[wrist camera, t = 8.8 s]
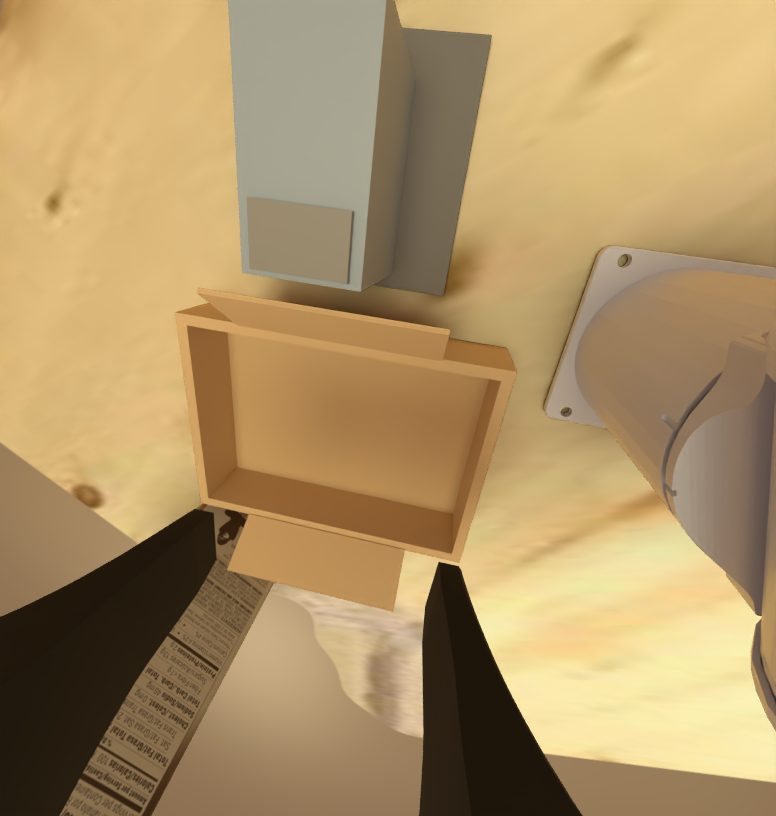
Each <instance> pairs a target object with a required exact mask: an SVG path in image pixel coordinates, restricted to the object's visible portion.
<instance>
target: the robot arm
mask: <svg viewBox="0 0 776 816" xmlns="http://www.w3.org/2000/svg"><path fill="white" fill-rule="evenodd" d="M623 254H626V255H627V256H628V262H627V263H626V264H625V265H624V266H622V267H619V265H618V259H619V258H620V256H622V255H623ZM565 407H569V408H570V410H569V411H568V412H567V413H561V410H562V409H563V408H565ZM544 411H545V413H546V415H547V416H548V417H550V418H552V419H558V420H563V421H568V422H574V423H579V424H585V425H590V426H595V427H601V428H606V429H608V430H609V431H610V433H611V434H612V435H613V436H614V438H615V439H616V440H617V442H618V443H619V444H620V446H621V447H622V448H623V450H624V451H625V452H626V453H627V455H628V456H629V457H630V459H631V460H632V461H633V463H634V464H635V465H636V467H637V468H638V469H639V471H640V472H641V473H642V474H643V476H644V477H645V478H646V480H647V481H648V482H649V484H650V485H651V486H652V488H653V489H654V490H655V492H656V493H657V494H658V495H659V497H660V498H661V499H662V501H663V502H664V503H665V505H666V506H667V507H668V509H669V510H670V511H671V512H672V514H673V515H674V516H675V518H676V519H677V521H678V522H679V523H680V525H681V526H682V528H683V529H684V530H685V532H686V533H687V534H688V536H689V537H690V538H691V539H692V541H693V542H694V543H695V544H696V545H697V546H698V547H699V548H700V549H701V550H702V551H703V552H704V553H705V554H706V555H707V556H709V557H710V558H711V559H712V560H713V561H714V562H715V563H716V564H718V565H719V566H720V567H721V568H722V569H723V570H724V571H725V572H726V576H727V578H728V579H729V580H730V582H731V583H732V584H733V585H734V587H735V588H736V589H737V590H738V592H739V593H740V594H741V596H742V597H743V598H744V599H745V601H746V602H747V603H748V605H749V606H750V607H751V608H752V610H753V611H754V612H755V614H757V615H759V616H762V619H761V620H760V621H759V622H758V623H757V624H756V627H755V632H754V637H753V642H752V647H751V671H752V676H753V680H754V684H755V688H756V692H757V694H758V696H759V699H760V701H761V703H762V706H763V708H764V710H765V713H766V715H767V717H768V719H769V721H770V722H771V724H772V726H773V727H774V729H775V731H776V267H769V266H762V265H754V264H747V263H740V262H732V261H725V260H718V259H710V258H703V257H696V256H688V255H681V254H673V253H666V252H659V251H651V250H644V249H637V248H629V247H622V246H607V247H605V248H603V249H602V250H601V251H600V252H599V254H598V255H597V257H596V260H595V263H594V266H593V269H592V271H591V274H590V277H589V280H588V283H587V286H586V288H585V291H584V294H583V297H582V300H581V303H580V305H579V308H578V311H577V314H576V317H575V320H574V322H573V325H572V328H571V331H570V334H569V336H568V339H567V342H566V345H565V348H564V351H563V353H562V356H561V359H560V362H559V365H558V368H557V370H556V373H555V376H554V379H553V382H552V385H551V387H550V390H549V393H548V396H547V399H546V402H545V404H544ZM216 560H217V556H216V541H215V525H214V513H213V512H208V511H204V510H199V509H194V510H193V511H191V512H189V513H188V514H186V515H184V516H183V517H181V518H180V519H178V520H176V521H175V522H173V523H172V524H170V525H168V526H167V527H165V528H164V529H162V530H161V531H159V532H157V533H156V534H154V535H153V536H151V537H149V538H148V539H146V540H145V541H143V542H141V543H140V544H138V545H136V546H135V547H133V548H132V549H130V550H128V551H127V552H125V553H123V554H122V555H120V556H119V557H117V558H115V559H113V560H111V561H110V562H108V563H106V564H104V565H103V566H101V567H99V568H97V569H96V570H94V571H92V572H90V573H89V574H87V575H85V576H84V577H81V578H80V579H78V580H76V581H74V582H72V583H70V584H68V585H67V586H64V587H63V588H61V589H59V590H57V591H55V592H53V593H51V594H49V595H47V596H44V597H43V598H40V599H39V600H36V601H34V602H32V603H30V604H28V605H26V606H24V607H22V608H20V609H17V610H15V611H13V612H10V613H8V614H6V615H4V616H1V617H0V816H60V814H61V812H62V810H63V809H64V807H65V805H66V803H67V801H68V799H69V798H70V796H71V794H72V792H73V790H74V788H75V787H76V785H77V783H78V781H79V779H80V777H81V775H82V774H83V772H84V770H85V768H86V766H87V764H88V763H89V761H90V759H91V757H92V756H93V754H94V752H95V750H96V749H97V747H98V745H99V743H100V742H101V740H102V738H103V736H104V735H105V733H106V731H107V729H108V728H109V726H110V724H111V722H112V721H113V719H114V717H115V716H116V714H117V712H118V711H119V709H120V707H121V706H122V704H123V702H124V701H125V699H126V697H127V696H128V694H129V692H130V691H131V689H132V687H133V686H134V684H135V682H136V681H137V679H138V678H139V676H140V675H141V673H142V672H143V670H144V669H145V667H146V666H147V664H148V663H149V661H150V660H151V659H152V657H153V656H154V654H155V653H156V651H157V650H158V649H159V647H160V646H161V644H162V643H163V642H164V640H165V639H166V637H167V636H168V635H169V633H170V632H171V630H172V629H173V628H174V626H175V625H176V623H177V622H178V621H179V619H180V618H181V616H182V615H183V613H184V612H185V611H186V609H187V608H188V606H189V605H190V603H191V602H192V601H193V599H194V598H195V596H196V595H197V593H198V592H199V590H200V589H201V587H202V585H203V583H204V582H205V580H206V578H207V576H208V574H209V573H210V571H211V569H212V567H213V565H214V563H215V561H216ZM422 658H423V727H424V735H423V764H422V781H421V782H422V783H421V798H420V813H419V816H582V814H581V813H580V811H579V810H578V808H577V807H576V805H575V804H574V802H573V800H572V799H571V798H570V796H569V794H568V792H567V791H566V789H565V787H564V786H563V784H562V783H561V781H560V779H559V778H558V776H557V774H556V773H555V771H554V770H553V768H552V767H551V765H550V763H549V762H548V760H547V758H546V757H545V755H544V753H543V752H542V750H541V748H540V747H539V745H538V743H537V741H536V740H535V738H534V736H533V734H532V732H531V731H530V729H529V727H528V725H527V724H526V722H525V720H524V718H523V716H522V714H521V712H520V710H519V709H518V707H517V705H516V703H515V701H514V699H513V697H512V695H511V693H510V691H509V689H508V687H507V685H506V683H505V681H504V679H503V677H502V675H501V672H500V670H499V668H498V666H497V664H496V662H495V660H494V657H493V655H492V653H491V650H490V648H489V646H488V643H487V641H486V639H485V636H484V634H483V631H482V629H481V626H480V624H479V621H478V619H477V616H476V614H475V611H474V608H473V605H472V603H471V600H470V597H469V594H468V591H467V588H466V585H465V582H464V578H463V575H462V571H461V569H460V568H459V566H455V565H450V564H446V563H441V562H439V563H438V566H437V570H436V573H435V576H434V579H433V583H432V586H431V589H430V593H429V596H428V599H427V602H426V606H425V616H424V628H423V641H422Z"/></svg>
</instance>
